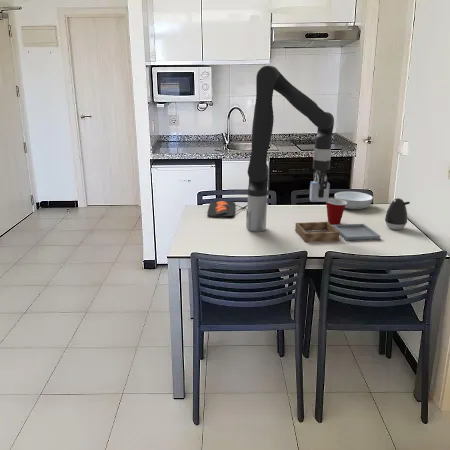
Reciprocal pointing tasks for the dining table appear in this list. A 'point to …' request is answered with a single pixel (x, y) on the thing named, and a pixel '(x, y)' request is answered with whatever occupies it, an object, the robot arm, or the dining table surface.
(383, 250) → the dining table surface
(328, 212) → the plastic cup
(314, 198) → the medicine box
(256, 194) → the robot arm
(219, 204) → the sushi plate
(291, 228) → the dining table surface
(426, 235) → the dining table surface
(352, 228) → the grey tray
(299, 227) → the walnut holder
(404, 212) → the pump dispenser
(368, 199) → the serving bowl
